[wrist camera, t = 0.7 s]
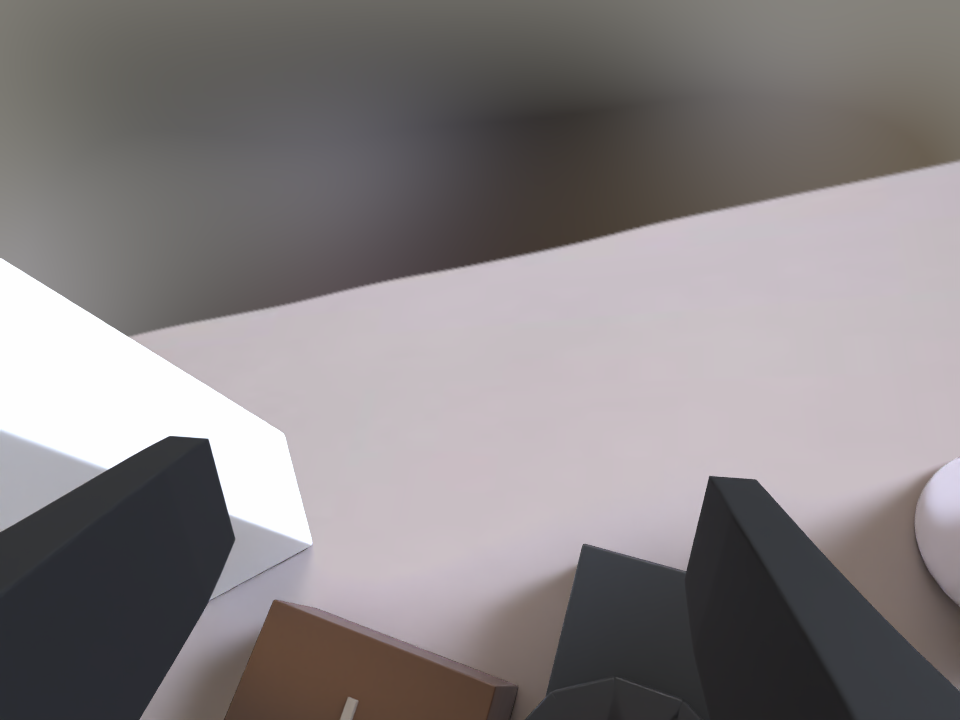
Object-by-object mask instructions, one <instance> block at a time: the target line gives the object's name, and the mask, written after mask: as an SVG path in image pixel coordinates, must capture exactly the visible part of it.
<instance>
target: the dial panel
mask: <svg viewBox="0 0 960 720" xmlns="http://www.w3.org/2000/svg"><path fill="white" fill-rule="evenodd" d="M517 689H518V686H517V685H515V684H513V683H510V682H507V681H505V680H502V679H500V678H497V677H494V676H492V675H489V674H487V673H484V672H481V671H479V670H476V669H473V668H471V667H468V666H466V665H463V664H460V663H458V662H455V661H453V660H450V659H447V658H445V657H442V656H440V655H437V654H434V653H432V652H429V651H427V650H424V649H421V648H419V647H416V646H414V645H411V644H408V643H406V642H403V641H400V640H398V639H395V638H393V637H390V636H387V635H385V634H382V633H380V632H377V631H374V630H372V629H369V628H367V627H364V626H361V625H359V624H356V623H354V622H351V621H348V620H346V619H343V618H340V617H338V616H335V615H333V614H330V613H327V612H325V611H322V610H320V609H317V608H313V607H308V606H304V605H299V604H294V603H289V602H284V601H279V600H274V601H273V603H272V605H271V608H270V610H269V612H268V615H267V617H266V620H265V622H264V625H263V627H262V629H261V632H260V634H259V637H258V639H257V641H256V644H255V646H254V649H253V651H252V654H251V656H250V658H249V661H248V663H247V666H246V668H245V670H244V673H243V675H242V678H241V680H240V682H239V685H238V687H237V690H236V692H235V695H234V697H233V699H232V702H231V704H230V707H229V709H228V711H227V714H226V716H225V719H224V720H510V716H511V712H512V708H513V705H514V701H515V697H516V693H517Z"/></svg>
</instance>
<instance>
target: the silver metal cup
mask: <svg viewBox="0 0 960 720" xmlns="http://www.w3.org/2000/svg"><path fill="white" fill-rule="evenodd" d="M915 535H916V540H917V544H918V547H919V550H920V553H921V556H922V558H923V560H924V562H925V564H926V566H927V568H928V570H929V571H930V573H931V575H932V576H933V578H934V579H935V580H936V582H937V583H938V584H939V586H940V587H941V588H942V589H943V590H944V592H945V593H946V594H947V595H948V596H949V597H950V598H951V599H952V600H953V601H954V602H955V603H956V604H957V605H959V606H960V457H958V458H956V459H954V460H952V461H950V462H949V463H947V464H946V465H944V466H943V467H942V468H940V469H939V470H938V471H937V472H936V473H935V474H934V475H933V476H932V477H931V478H930V479H929V481H928V482H927V484H926V485H925V487H924V488H923V490H922V492H921V494H920V497H919V500H918V503H917V507H916V512H915Z"/></svg>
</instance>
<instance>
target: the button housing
mask: <svg viewBox="0 0 960 720" xmlns="http://www.w3.org/2000/svg"><path fill="white" fill-rule="evenodd" d="M685 575H686V571H683V570H679V569H675V568H672V567H668V566H664V565H661V564H657V563H653V562H650V561H646V560H642V559H639V558H635V557H632V556H628V555H624V554H621V553H617V552H613V551H610V550H606V549H602V548H599V547H595V546H591V545H588V544H583V546H582V549H581V553H580V557H579V561H578V566H577V570H576V574H575V578H574V582H573V586H572V590H571V594H570V598H569V602H568V607H567V611H566V615H565V619H564V623H563V627H562V631H561V635H560V639H559V644H558V648H557V652H556V656H555V660H554V664H553V668H552V672H551V676H550V680H549V685H548V689H547V693H546V697H545V699H544V700H543V701H542V702H541V703H540V704H539V705H538V706H537V707H536V708H535V709H534V710H533V711H532V712H531V714H530V715H529V716H528V717H527V718H526V719H525V720H710V718H709V714H708V710H707V706H706V701H705V697H704V693H703V689H702V685H701V681H700V677H699V673H698V669H697V665H696V660H695V656H694V652H693V644H692V637H691V630H690V623H689V615H688V607H687V599H686V590H685V582H684V579H685Z"/></svg>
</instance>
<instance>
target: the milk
mask: <svg viewBox="0 0 960 720" xmlns="http://www.w3.org/2000/svg"><path fill="white" fill-rule="evenodd" d="M168 436H181V437H194V438H208V439H209V442H210V446H211V449H212V453H213V457H214V461H215V464H216V468H217V472H218V476H219V479H220V483H221V487H222V491H223V494H224V498H225V502H226V506H227V509H228V513H229V517H230V521H231V524H232V528H233V532H234V536H235V542H234V544H233V547H232V549H231V551H230V554H229V556H228V559H227V561H226V564H225V566H224V568H223V571H222V573H221V576H220V578H219V580H218V582H217V584H216V587H215V589H214V591H213V593H212V595H211V598H210V600H211V599H213V598H215V597H217V596H219V595H221V594H222V593H224V592H226V591H228V590H230V589H232V588H234V587H235V586H237V585H239V584H241V583H243V582H245V581H247V580H248V579H250V578H252V577H254V576H256V575H258V574H260V573H261V572H263V571H265V570H267V569H269V568H271V567H273V566H274V565H276V564H278V563H280V562H282V561H284V560H286V559H287V558H289V557H291V556H293V555H295V554H297V553H299V552H301V551H302V550H304V549H306V548H308V547H310V546H311V545H312V544H313V543H312V538H311V535H310V531H309V527H308V523H307V519H306V515H305V512H304V508H303V504H302V500H301V496H300V492H299V489H298V485H297V481H296V477H295V473H294V469H293V466H292V462H291V458H290V454H289V450H288V446H287V443H286V439H285V435H284V434H283V433H282V432H281V431H279V430H278V429H276V428H274V427H273V426H271V425H269V424H268V423H266V422H265V421H263V420H261V419H260V418H258V417H257V416H255V415H253V414H252V413H250V412H248V411H247V410H245V409H244V408H242V407H240V406H239V405H237V404H236V403H234V402H232V401H231V400H229V399H227V398H226V397H224V396H223V395H221V394H219V393H218V392H216V391H215V390H213V389H211V388H210V387H208V386H206V385H205V384H203V383H202V382H200V381H198V380H197V379H195V378H194V377H192V376H190V375H189V374H187V373H185V372H184V371H182V370H181V369H179V368H177V367H176V366H174V365H173V364H171V363H169V362H168V361H166V360H164V359H163V358H161V357H160V356H158V355H156V354H155V353H153V352H152V351H150V350H148V349H147V348H145V347H144V346H142V345H140V344H139V343H137V342H135V341H134V340H132V339H131V338H129V337H127V336H126V335H124V334H122V333H121V332H119V331H117V330H116V329H114V328H113V327H111V326H110V325H108V324H106V323H104V322H103V321H102V320H100V319H98V318H97V317H95V316H93V315H92V314H90V313H89V312H87V311H85V310H84V309H82V308H80V307H79V306H77V305H76V304H74V303H72V302H71V301H69V300H68V299H66V298H64V297H63V296H61V295H59V294H58V293H56V292H55V291H53V290H51V289H50V288H48V287H47V286H45V285H43V284H42V283H40V282H39V281H37V280H35V279H34V278H32V277H31V276H29V275H27V274H26V273H24V272H22V271H21V270H19V269H18V268H16V267H14V266H12V265H11V264H9V263H8V262H6V261H5V260H3V259H1V258H0V532H1V531H3V530H5V529H7V528H9V527H10V526H12V525H14V524H16V523H17V522H19V521H21V520H23V519H24V518H26V517H28V516H29V515H31V514H33V513H35V512H36V511H38V510H40V509H41V508H43V507H45V506H47V505H48V504H50V503H52V502H53V501H55V500H57V499H59V498H60V497H62V496H64V495H65V494H67V493H69V492H71V491H72V490H74V489H76V488H77V487H79V486H81V485H83V484H84V483H86V482H88V481H89V480H91V479H93V478H94V477H96V476H98V475H100V474H101V473H103V472H105V471H106V470H108V469H110V468H112V467H113V466H115V465H117V464H118V463H120V462H122V461H124V460H125V459H127V458H129V457H131V456H132V455H134V454H136V453H138V452H140V451H141V450H143V449H145V448H147V447H149V446H151V445H152V444H154V443H156V442H158V441H160V440H162V439H164V438H166V437H168Z"/></svg>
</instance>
